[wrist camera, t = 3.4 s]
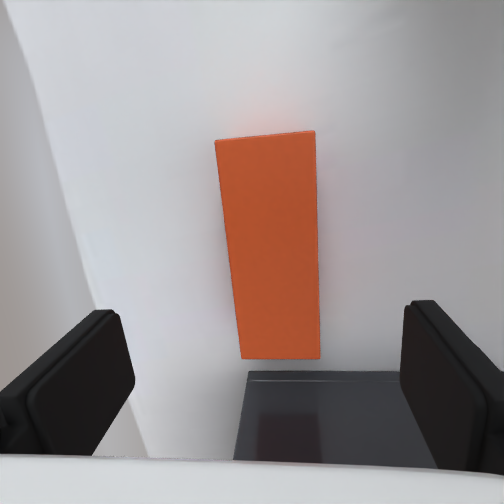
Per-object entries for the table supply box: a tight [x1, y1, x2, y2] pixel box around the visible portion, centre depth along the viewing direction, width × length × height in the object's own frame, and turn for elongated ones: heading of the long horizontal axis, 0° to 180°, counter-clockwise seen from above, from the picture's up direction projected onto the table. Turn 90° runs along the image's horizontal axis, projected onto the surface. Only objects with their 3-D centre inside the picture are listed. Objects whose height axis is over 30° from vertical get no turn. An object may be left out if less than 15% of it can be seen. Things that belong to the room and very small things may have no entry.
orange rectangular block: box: [215, 131, 320, 359], centre depth 18 cm, size 12×4×4 cm, turn 5°
